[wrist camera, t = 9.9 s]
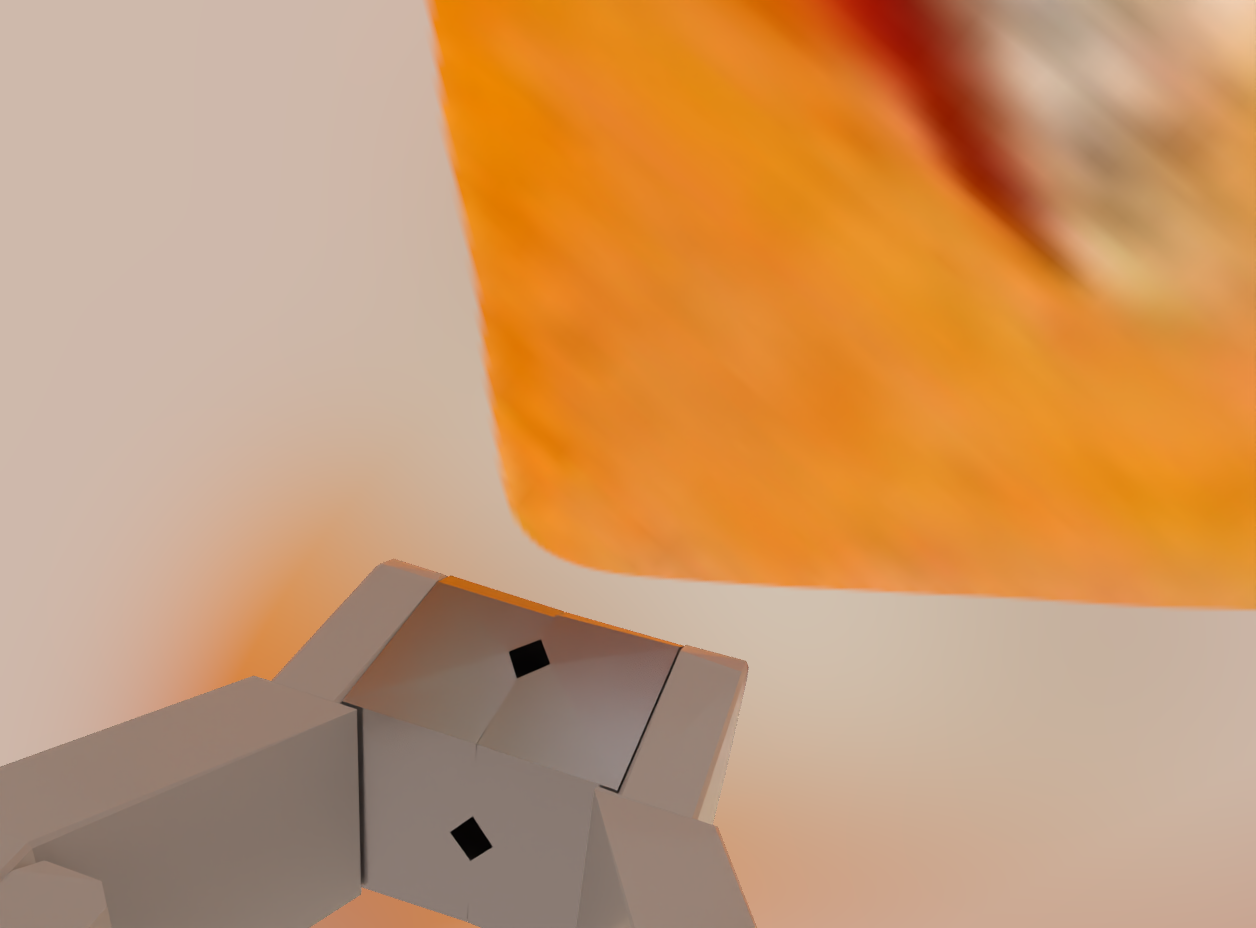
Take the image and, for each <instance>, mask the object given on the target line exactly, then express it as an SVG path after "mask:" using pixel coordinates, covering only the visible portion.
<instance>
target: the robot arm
mask: <svg viewBox="0 0 1256 928" xmlns="http://www.w3.org/2000/svg"><path fill="white" fill-rule="evenodd" d="M747 675H748V664H747V662H746V661H744V660H740V659H736V658H733V657H729V656H725V655H722V654H718V653H714V652H710V651H707V650H703V649H699V648H696V647H692V646H688V645H685V646H682V645H678V644H675V643H672V642H668V641H665V640H661V639H658V638H654V637H651V636H647V635H644V634H640V633H637V632H633V631H630V630H626V629H623V628H619V627H616V626H612V625H609V624H605V623H602V622H598V621H595V620H591V619H588V618H584V617H580V616H577V615H574V614H570V613H567V612H565V613H564V611H561V610H558V609H554V608H551V607H548V606H545V605H542V604H539V603H535V602H532V601H529V600H526V599H523V598H520V597H517V596H513V595H510V594H507V593H504V592H501V591H498V590H494V589H491V588H488V587H485V586H482V585H479V584H475V583H472V582H469V581H466V580H463V579H460V578H457V577H454V576H449V577H448V576H446V575H443V574H441V573H438V572H434V571H431V570H428V569H425V568H422V567H419V566H415V565H412V564H409V563H406V562H403V561H399V560H396V559H392V560H389V561H386V562H384V563H381V564H380V565H378V566H376V567H375V568H374V570H373V571H372V572H371V573H370V574H369V575H368V576H367V577H366V578H365V579H364V580H363V581H362V583H361V584H360V585H359V586H358V587H357V588H356V589H355V590H354V591H353V592H352V594H351V595H350V596H349V597H348V598H347V599H346V600H345V601H344V602H343V603H342V604H341V606H340V607H339V608H338V609H337V610H336V611H335V612H334V613H333V614H332V615H331V616H330V618H329V619H328V620H327V621H326V622H325V623H324V624H323V625H322V626H321V627H320V628H319V629H318V630H317V632H316V633H315V634H314V635H313V636H312V637H311V638H310V639H309V640H308V642H306V644H305V645H304V646H303V647H302V648H301V649H300V650H299V651H298V652H297V654H296V655H295V656H294V657H293V658H292V659H291V660H290V661H289V662H288V663H287V664H286V665H285V666H284V668H283V669H282V670H281V671H280V672H279V673H278V674H277V675H276V676H275V677H274V678H273V679H272V681H269V680H266V679H262V678H259V677H256V676H252V677H249V678H246V679H244V680H241V681H238V682H235V683H232V684H230V685H227V686H224V687H221V688H218V689H215V690H213V691H210V692H207V693H204V694H202V695H199V696H196V697H193V698H190V699H188V700H185V701H182V702H179V703H177V704H174V705H171V706H168V707H165V708H163V709H160V710H157V711H154V712H152V713H149V714H146V715H143V716H140V717H137V718H135V719H132V720H129V721H126V722H124V723H121V724H118V725H115V726H112V727H110V728H107V729H104V730H102V731H99V732H96V733H93V734H90V735H87V736H85V737H82V738H79V739H76V740H73V741H71V742H68V743H65V744H62V745H60V746H57V747H54V748H51V749H48V750H46V751H43V752H40V753H37V754H35V755H32V756H29V757H26V758H23V759H21V760H18V761H16V762H12V763H9V764H7V765H4V766H1V767H0V928H310V927H311V926H313V925H314V924H316V923H317V922H319V921H320V920H322V919H324V918H325V917H327V916H328V915H330V914H331V913H333V912H334V911H336V910H338V909H339V908H341V907H342V906H344V905H345V904H347V903H348V902H350V901H351V900H353V899H355V898H356V897H358V896H359V895H361V887H363V888H366V889H369V890H372V891H375V892H378V893H381V894H384V895H387V896H390V897H393V898H396V899H399V900H402V901H405V902H408V903H411V904H414V905H417V906H421V907H423V908H427V909H430V910H433V911H436V912H439V913H442V914H445V915H448V916H451V917H454V918H457V919H460V920H463V921H466V922H467V921H468V923H471V924H474V925H476V926H479V927H481V928H757V927H756V924H755V922H754V919H753V916H752V914H751V911H750V909H749V906H748V903H747V901H746V898H745V896H744V893H743V891H742V888H741V885H740V883H739V880H738V878H737V875H736V873H735V870H734V868H733V865H732V862H731V860H730V857H729V855H728V852H727V850H726V847H725V844H724V842H723V839H722V837H721V834H720V832H719V829H718V827H717V826H714V825H713V821H714V817H715V813H716V809H717V805H718V801H719V797H720V793H721V789H722V785H723V781H724V777H725V773H726V768H727V764H728V760H729V756H730V751H731V747H732V743H733V738H734V734H735V729H736V725H737V721H738V716H739V711H740V707H741V703H742V699H743V694H744V690H745V686H746V681H747Z"/></svg>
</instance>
